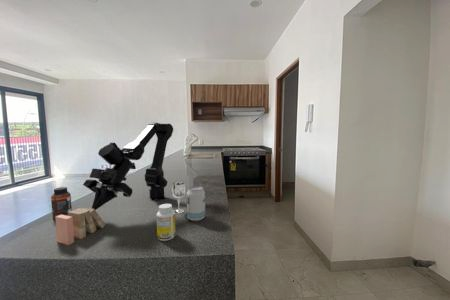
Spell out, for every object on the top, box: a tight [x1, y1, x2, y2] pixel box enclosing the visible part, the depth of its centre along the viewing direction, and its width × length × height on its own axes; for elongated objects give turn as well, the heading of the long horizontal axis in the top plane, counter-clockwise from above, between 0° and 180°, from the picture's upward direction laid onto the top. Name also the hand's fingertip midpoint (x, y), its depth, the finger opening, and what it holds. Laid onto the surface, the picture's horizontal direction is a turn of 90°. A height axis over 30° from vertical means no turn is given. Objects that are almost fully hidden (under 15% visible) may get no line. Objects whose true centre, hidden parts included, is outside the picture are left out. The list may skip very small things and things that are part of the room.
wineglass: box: [171, 181, 187, 214], centre depth 81 cm, size 6×6×12 cm
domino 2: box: [68, 209, 87, 240], centre depth 61 cm, size 2×5×8 cm, turn 71°
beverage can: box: [186, 185, 206, 222], centre depth 74 cm, size 7×7×12 cm
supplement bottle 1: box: [50, 186, 73, 219], centre depth 76 cm, size 6×6×11 cm
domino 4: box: [81, 206, 106, 229], centre depth 66 cm, size 2×5×8 cm, turn 71°
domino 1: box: [54, 215, 75, 246], centre depth 58 cm, size 2×5×8 cm, turn 71°
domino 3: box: [74, 207, 97, 234], centre depth 64 cm, size 2×5×8 cm, turn 71°
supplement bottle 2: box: [156, 203, 176, 242], centre depth 61 cm, size 6×6×10 cm
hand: (93, 209), depth 66 cm, fingers closed
